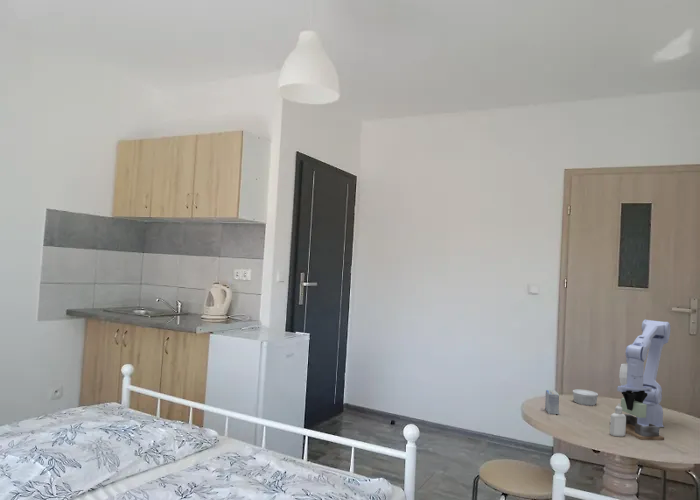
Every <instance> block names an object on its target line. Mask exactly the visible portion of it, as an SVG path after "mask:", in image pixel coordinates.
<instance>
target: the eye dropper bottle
mask: <svg viewBox="0 0 700 500" xmlns="http://www.w3.org/2000/svg"><path fill="white" fill-rule="evenodd" d="M624 414H625V413H623V411H622V407H621V403H617V404H616V406H615V409H614V413H611V414H610V421H609V434H610V435H611V436H613V437H625V436H626V416H625V415H624Z"/></svg>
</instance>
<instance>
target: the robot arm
mask: <svg viewBox="0 0 700 500" xmlns="http://www.w3.org/2000/svg"><path fill="white" fill-rule="evenodd" d="M671 330H672V329H671V323H670V322H669V321H659V320H652V319H651V320H650V319H644V320H642V322H641V331H642V333H641V334H640V335H637V337H636V338H635V339H634V341H633V342H632V343H631V344H629V345H627V346H626V348H625V359H626V364H628V365H627V384H625V385H623V386H621V385H617V388H616V391H617V392H620V393H621V395H622V396H623V398H624V399H625V402H626V406H627V409H628V410H631V411H632V410H633V403H634V400H635V401H638V402H640V403H643V404H646V405H647V408H646V418H639V417H637V424H639V425H642V426H649V424H653V425H655V426H657V427H660V428H664V427H665V426H664V425H663V423H664V410H663V407H662V405H661V404H660V403H661V401H662V396H663V394H662V391H663V388H662V386H661V384H660V383H659V382H658V381H657V377H658V370H659V366H660V362H661V361H660V360H661V356H662V351H663V348H664V345H666V344H668V343H669V341H670V337H671Z"/></svg>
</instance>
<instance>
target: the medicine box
mask: <svg viewBox="0 0 700 500" xmlns="http://www.w3.org/2000/svg"><path fill="white" fill-rule="evenodd" d="M544 400H545V401H544V402H545V403H544V404H545V405H544V409H545V411H546V412H547V414H548V415H549V414H550V415H556V414H558V415H559V412H560V409H559V408H560V394H559V392H557V390H554V389H553V390H551V389H546V390H545V399H544Z"/></svg>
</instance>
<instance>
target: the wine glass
mask: <svg viewBox="0 0 700 500" xmlns="http://www.w3.org/2000/svg"><path fill="white" fill-rule="evenodd" d="M627 365H628V363H621V364H620V367H619V373H618V375H619V376H618V377H619V383H620V386H623V385H625V384H627Z"/></svg>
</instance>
